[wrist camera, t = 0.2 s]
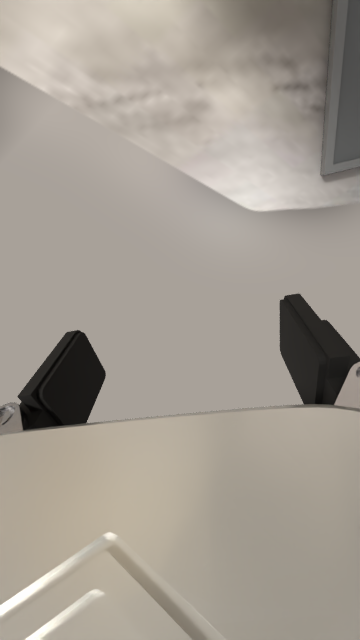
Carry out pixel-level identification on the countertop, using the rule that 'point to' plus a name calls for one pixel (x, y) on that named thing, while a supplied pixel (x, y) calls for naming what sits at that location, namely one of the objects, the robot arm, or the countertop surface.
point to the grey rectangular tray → (342, 90)
